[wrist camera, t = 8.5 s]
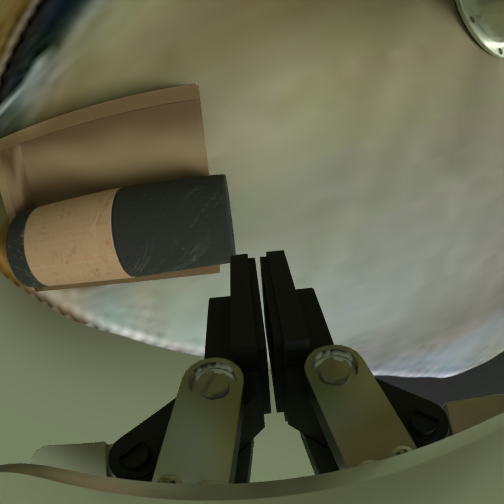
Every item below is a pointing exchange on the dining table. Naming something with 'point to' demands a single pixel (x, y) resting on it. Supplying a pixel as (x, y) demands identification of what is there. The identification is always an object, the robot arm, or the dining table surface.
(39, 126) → the tray
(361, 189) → the dining table surface
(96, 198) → the travel mug
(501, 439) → the robot arm
